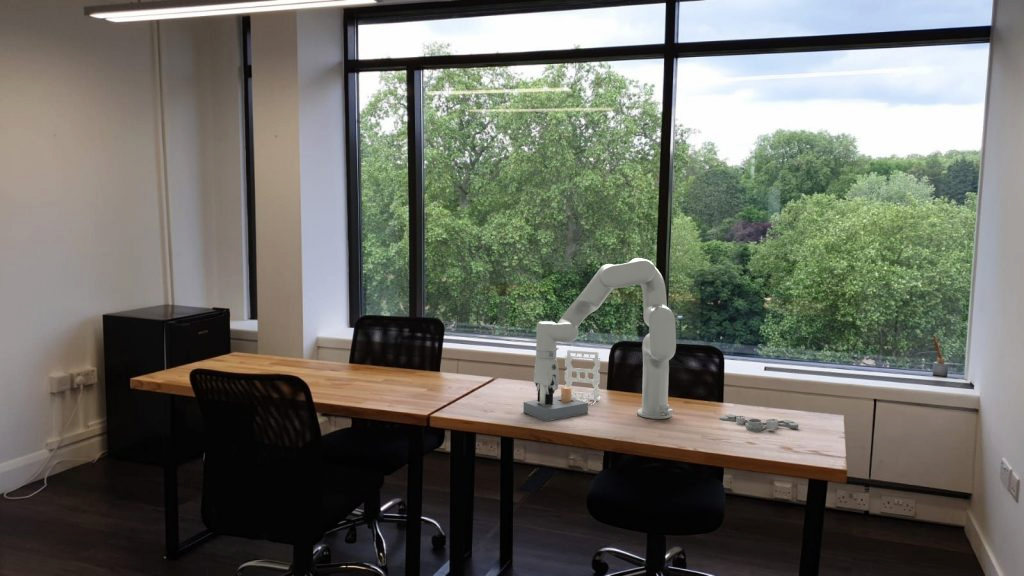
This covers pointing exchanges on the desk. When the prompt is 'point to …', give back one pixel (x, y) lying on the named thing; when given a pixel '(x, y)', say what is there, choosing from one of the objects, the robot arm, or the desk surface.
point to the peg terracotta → (566, 394)
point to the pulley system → (759, 423)
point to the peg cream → (543, 395)
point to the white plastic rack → (586, 371)
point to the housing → (555, 409)
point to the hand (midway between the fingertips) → (545, 402)
